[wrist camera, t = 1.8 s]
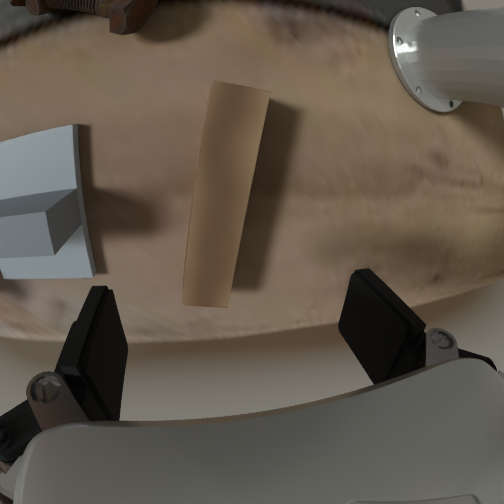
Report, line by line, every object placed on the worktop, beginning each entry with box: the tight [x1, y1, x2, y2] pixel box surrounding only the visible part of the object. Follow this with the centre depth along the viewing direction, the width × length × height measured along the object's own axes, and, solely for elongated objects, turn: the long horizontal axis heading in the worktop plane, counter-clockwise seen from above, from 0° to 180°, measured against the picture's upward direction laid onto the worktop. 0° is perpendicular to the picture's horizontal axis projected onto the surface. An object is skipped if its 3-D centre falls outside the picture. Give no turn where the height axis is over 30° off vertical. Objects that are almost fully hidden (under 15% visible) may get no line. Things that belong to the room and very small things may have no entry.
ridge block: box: [0, 124, 96, 279], centre depth 17 cm, size 12×14×7 cm
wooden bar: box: [182, 81, 271, 308], centre depth 22 cm, size 4×18×4 cm, turn 169°
